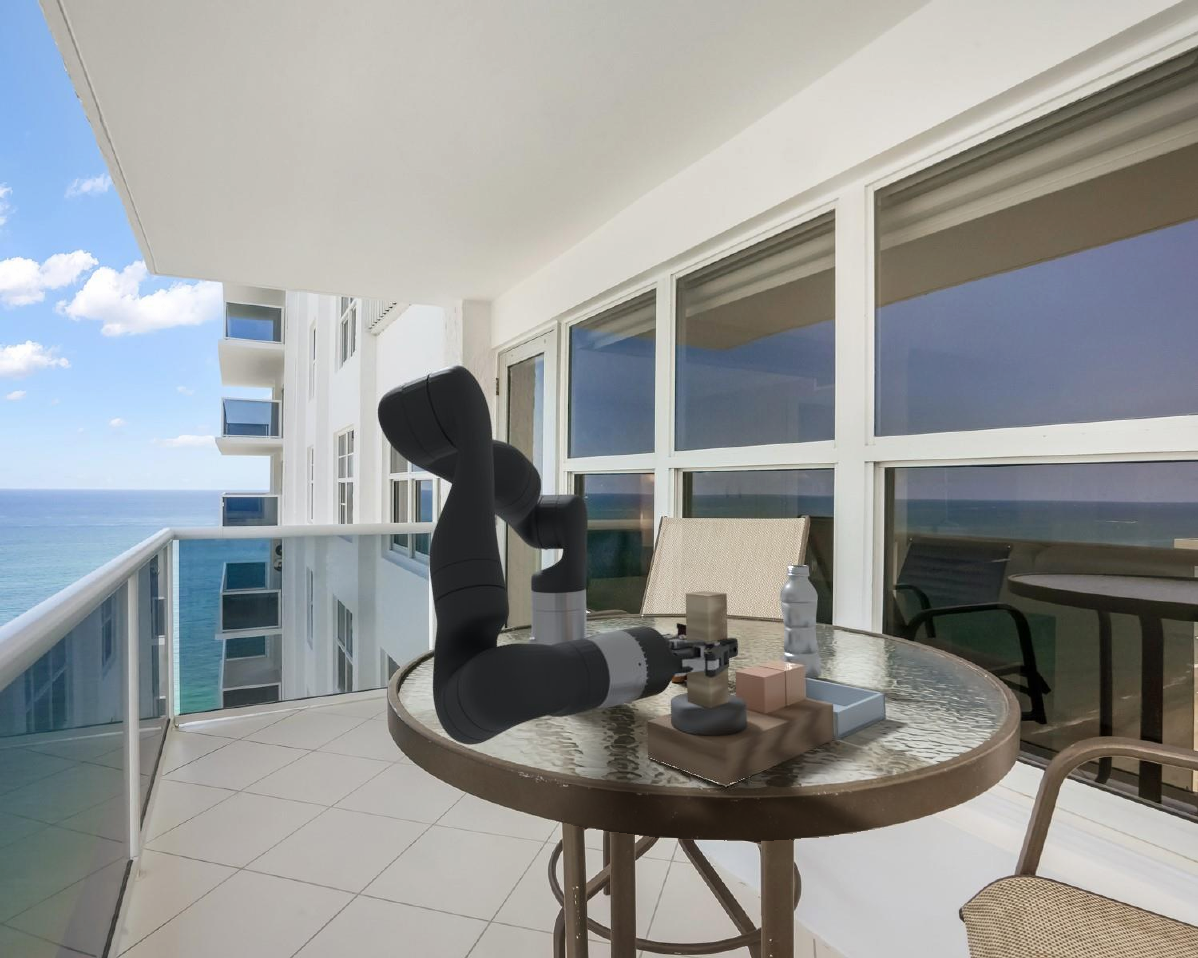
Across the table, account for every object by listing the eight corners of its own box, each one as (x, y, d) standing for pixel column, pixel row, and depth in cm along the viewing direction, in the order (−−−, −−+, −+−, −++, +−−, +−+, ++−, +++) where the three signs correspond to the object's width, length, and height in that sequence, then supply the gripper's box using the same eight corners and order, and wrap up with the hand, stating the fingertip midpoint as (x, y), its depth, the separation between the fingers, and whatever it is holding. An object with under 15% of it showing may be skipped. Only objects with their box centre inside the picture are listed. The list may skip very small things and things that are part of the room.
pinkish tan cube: (765, 713, 84) (764, 677, 84) (736, 706, 87) (735, 671, 87) (785, 706, 87) (784, 671, 87) (756, 699, 90) (755, 665, 90)
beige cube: (787, 705, 87) (785, 670, 87) (758, 698, 90) (757, 665, 90) (805, 699, 90) (804, 665, 90) (777, 692, 93) (776, 660, 93)
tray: (838, 739, 87) (837, 712, 87) (755, 717, 96) (755, 693, 97) (885, 718, 95) (884, 693, 95) (805, 699, 105) (804, 677, 105)
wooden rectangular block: (726, 787, 72) (725, 745, 72) (647, 758, 81) (647, 720, 81) (834, 739, 87) (833, 704, 87) (757, 718, 96) (756, 686, 96)
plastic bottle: (824, 684, 114) (820, 567, 115) (783, 682, 116) (779, 567, 117) (819, 674, 121) (815, 564, 122) (780, 673, 122) (777, 564, 123)
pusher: (713, 741, 74) (711, 600, 74) (655, 722, 80) (653, 593, 81) (762, 723, 79) (759, 593, 80) (704, 707, 86) (701, 587, 87)
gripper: (667, 640, 66) (769, 620, 77) (577, 623, 77) (679, 607, 88) (669, 716, 65) (771, 685, 77) (578, 689, 76) (680, 665, 87)
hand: (721, 644), depth 82 cm, fingers closed on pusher, 3 cm apart
